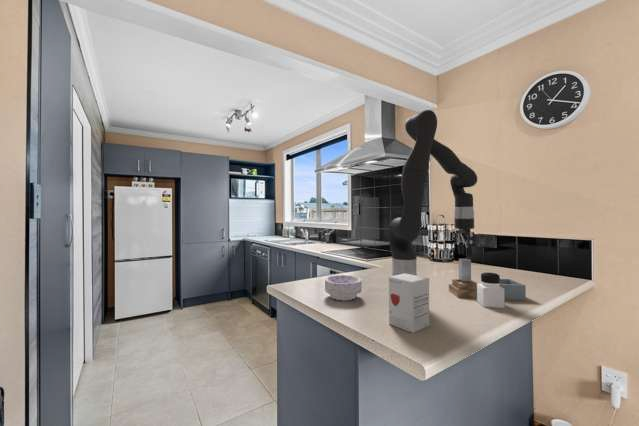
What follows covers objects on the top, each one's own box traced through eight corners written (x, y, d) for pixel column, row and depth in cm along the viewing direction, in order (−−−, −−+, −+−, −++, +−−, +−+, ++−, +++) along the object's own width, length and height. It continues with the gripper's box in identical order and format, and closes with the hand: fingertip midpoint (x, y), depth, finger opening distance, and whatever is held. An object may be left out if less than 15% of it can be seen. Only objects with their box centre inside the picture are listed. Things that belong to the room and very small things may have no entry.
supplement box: (387, 324, 87) (387, 276, 87) (405, 317, 93) (404, 272, 93) (413, 333, 80) (412, 281, 80) (430, 326, 85) (429, 277, 86)
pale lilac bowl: (338, 305, 105) (338, 284, 105) (318, 296, 118) (318, 277, 118) (369, 299, 113) (369, 280, 113) (347, 290, 126) (347, 273, 126)
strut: (461, 288, 117) (461, 260, 118) (457, 285, 122) (456, 258, 122) (473, 288, 117) (473, 260, 117) (468, 285, 122) (468, 258, 122)
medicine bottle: (505, 308, 101) (504, 275, 101) (483, 307, 103) (483, 274, 103) (496, 302, 108) (496, 271, 108) (476, 301, 110) (476, 271, 110)
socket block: (457, 297, 115) (457, 284, 115) (448, 290, 125) (448, 278, 125) (482, 297, 114) (482, 284, 114) (472, 291, 124) (472, 279, 124)
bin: (496, 299, 112) (496, 284, 112) (483, 291, 123) (483, 278, 123) (525, 300, 111) (525, 285, 111) (510, 292, 122) (509, 278, 122)
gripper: (449, 217, 127) (450, 253, 127) (461, 217, 113) (462, 257, 113) (466, 217, 126) (467, 253, 126) (481, 217, 112) (481, 257, 112)
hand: (464, 255), depth 120 cm, fingers open, 8 cm apart
